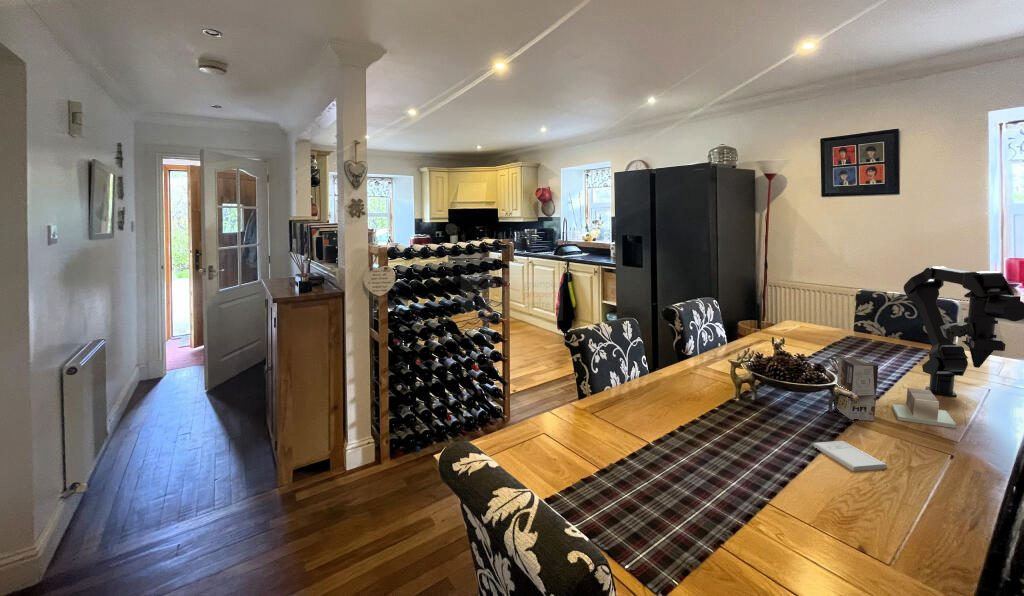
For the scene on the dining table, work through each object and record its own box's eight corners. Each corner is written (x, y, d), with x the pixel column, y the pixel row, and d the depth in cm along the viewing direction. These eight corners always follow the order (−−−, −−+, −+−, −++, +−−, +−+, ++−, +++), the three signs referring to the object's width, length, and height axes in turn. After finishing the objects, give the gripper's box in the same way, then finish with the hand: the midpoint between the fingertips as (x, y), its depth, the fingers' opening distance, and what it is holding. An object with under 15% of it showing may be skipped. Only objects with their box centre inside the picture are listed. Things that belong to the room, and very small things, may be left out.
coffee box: (875, 421, 131) (879, 365, 128) (849, 420, 132) (853, 364, 130) (858, 409, 140) (862, 356, 137) (834, 408, 141) (837, 356, 139)
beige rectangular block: (907, 387, 139) (915, 399, 130) (929, 390, 136) (939, 402, 127) (906, 403, 140) (913, 416, 130) (928, 406, 137) (937, 419, 128)
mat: (891, 406, 140) (892, 403, 140) (945, 413, 134) (945, 410, 134) (898, 419, 131) (898, 416, 131) (955, 428, 125) (956, 424, 124)
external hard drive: (853, 473, 105) (812, 448, 117) (886, 470, 106) (843, 446, 118) (853, 466, 105) (813, 442, 117) (887, 463, 106) (843, 439, 118)
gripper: (937, 308, 147) (932, 356, 149) (953, 318, 131) (947, 372, 133) (986, 310, 141) (980, 360, 143) (1008, 321, 125) (1002, 377, 127)
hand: (976, 367), depth 137 cm, fingers closed
